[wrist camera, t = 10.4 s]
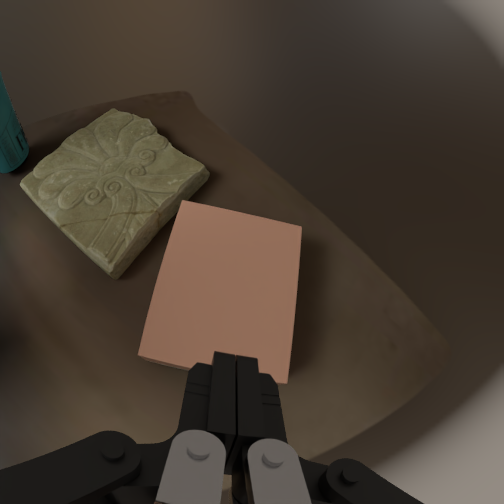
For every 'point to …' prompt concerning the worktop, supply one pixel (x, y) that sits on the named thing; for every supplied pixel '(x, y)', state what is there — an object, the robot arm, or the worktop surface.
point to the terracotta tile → (225, 291)
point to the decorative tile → (113, 187)
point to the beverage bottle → (10, 135)
